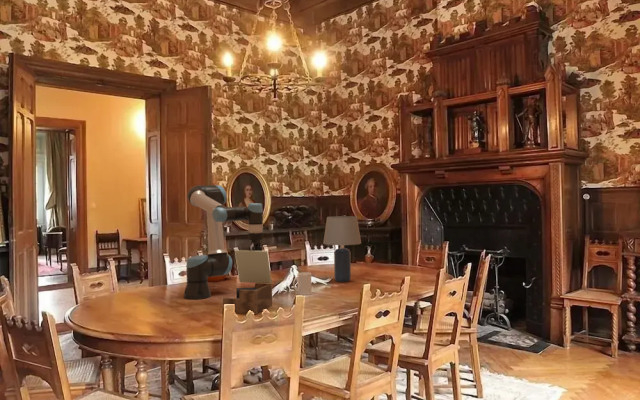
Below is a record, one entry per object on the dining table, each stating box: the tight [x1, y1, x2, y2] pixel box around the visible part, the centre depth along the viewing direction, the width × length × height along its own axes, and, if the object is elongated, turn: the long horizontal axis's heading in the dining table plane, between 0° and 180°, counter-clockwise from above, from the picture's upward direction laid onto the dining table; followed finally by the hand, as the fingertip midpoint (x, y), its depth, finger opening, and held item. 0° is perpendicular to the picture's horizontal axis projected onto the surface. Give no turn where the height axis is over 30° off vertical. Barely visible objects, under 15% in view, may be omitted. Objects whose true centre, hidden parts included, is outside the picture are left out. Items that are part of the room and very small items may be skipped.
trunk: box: [222, 283, 273, 316], centre depth 262 cm, size 18×20×12 cm
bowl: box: [208, 272, 230, 282], centre depth 353 cm, size 25×25×10 cm
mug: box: [292, 272, 313, 296], centre depth 299 cm, size 12×8×12 cm
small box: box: [235, 286, 257, 299], centre depth 262 cm, size 11×6×10 cm, turn 102°
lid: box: [234, 249, 273, 284], centre depth 268 cm, size 18×18×2 cm
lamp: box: [323, 215, 362, 283], centre depth 341 cm, size 25×25×43 cm
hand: (256, 276), depth 271 cm, fingers closed
